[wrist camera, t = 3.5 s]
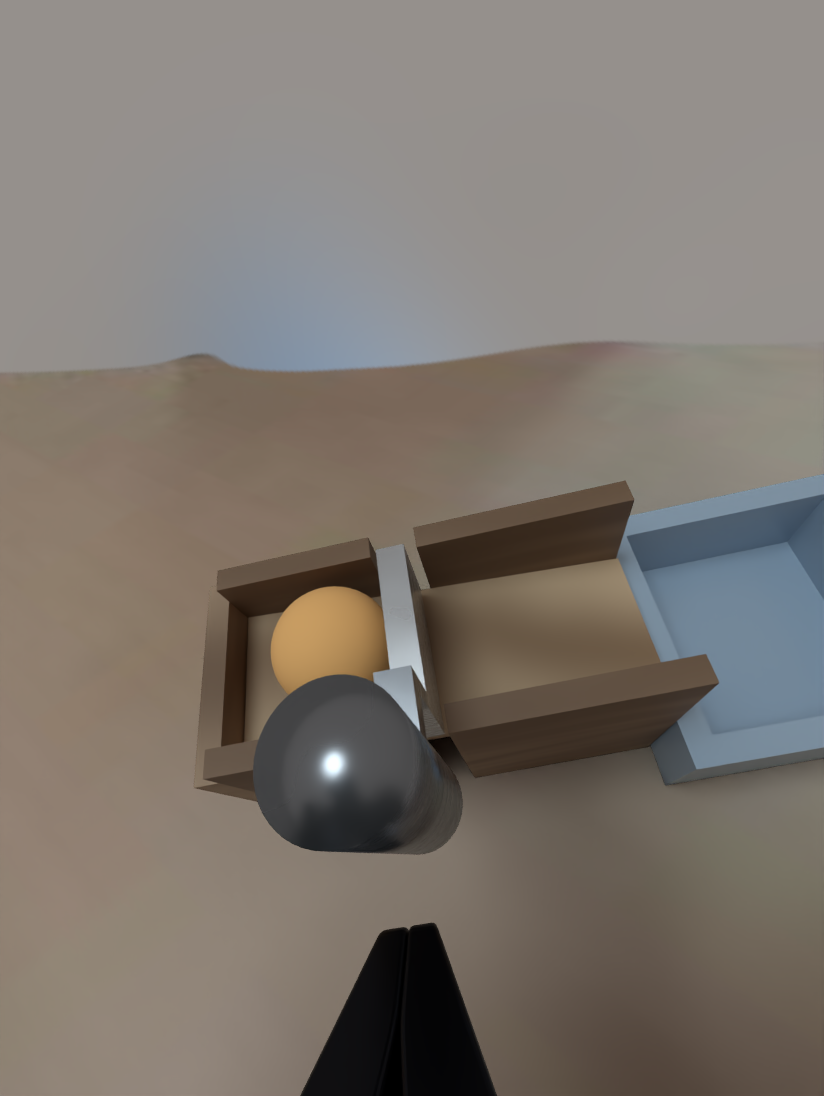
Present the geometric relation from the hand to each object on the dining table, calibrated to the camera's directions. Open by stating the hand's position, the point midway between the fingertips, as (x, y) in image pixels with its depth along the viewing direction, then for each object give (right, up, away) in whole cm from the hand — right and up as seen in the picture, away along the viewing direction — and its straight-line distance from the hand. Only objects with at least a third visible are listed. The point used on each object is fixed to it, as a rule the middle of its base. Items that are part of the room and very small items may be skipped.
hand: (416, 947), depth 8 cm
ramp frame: (+2, 0, +13) cm, 13 cm away
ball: (-2, +3, +7) cm, 8 cm away
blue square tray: (+12, +2, +12) cm, 17 cm away
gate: (0, +1, +7) cm, 8 cm away
